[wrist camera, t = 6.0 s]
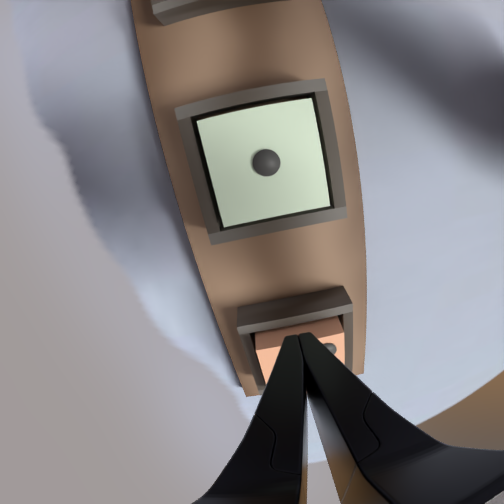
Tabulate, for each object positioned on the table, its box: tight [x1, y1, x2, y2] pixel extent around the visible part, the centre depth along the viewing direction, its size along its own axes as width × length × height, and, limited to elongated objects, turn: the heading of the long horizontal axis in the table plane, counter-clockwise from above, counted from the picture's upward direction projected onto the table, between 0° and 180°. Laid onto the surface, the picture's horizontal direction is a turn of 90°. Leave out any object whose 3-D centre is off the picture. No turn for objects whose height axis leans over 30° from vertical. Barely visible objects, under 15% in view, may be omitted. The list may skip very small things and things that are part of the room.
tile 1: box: [197, 98, 330, 227], centre depth 13 cm, size 5×5×2 cm
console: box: [131, 0, 367, 397], centre depth 14 cm, size 10×36×3 cm, turn 12°
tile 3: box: [255, 315, 345, 393], centre depth 17 cm, size 5×5×2 cm
